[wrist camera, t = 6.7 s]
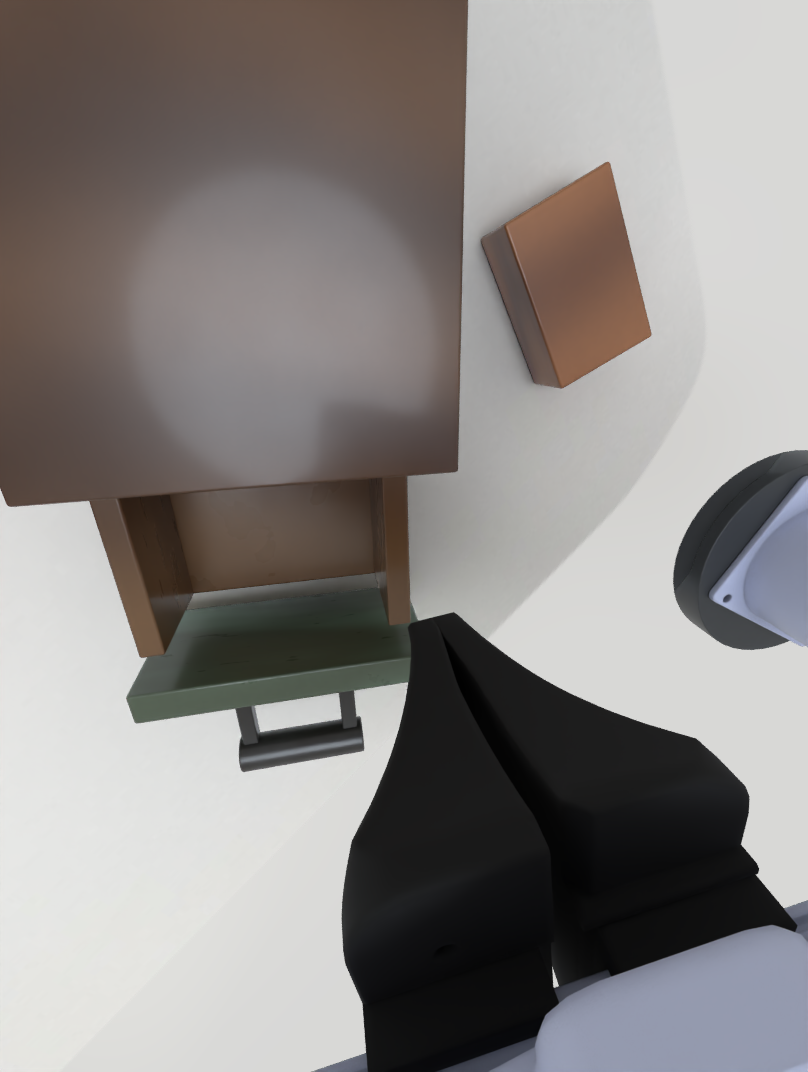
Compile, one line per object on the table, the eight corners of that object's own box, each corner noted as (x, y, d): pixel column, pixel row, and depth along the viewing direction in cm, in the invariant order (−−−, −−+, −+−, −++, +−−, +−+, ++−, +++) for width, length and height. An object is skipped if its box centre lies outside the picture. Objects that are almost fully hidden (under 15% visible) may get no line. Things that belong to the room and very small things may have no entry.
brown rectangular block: (615, 336, 19) (653, 335, 17) (534, 384, 20) (561, 389, 17) (572, 182, 17) (610, 159, 15) (479, 239, 17) (504, 224, 15)
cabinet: (410, 429, 19) (458, 472, 13) (118, 447, 18) (6, 508, 11) (400, -15, 14) (477, -320, 8) (-25, -57, 12) (-406, -509, 6)
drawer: (407, 678, 24) (431, 764, 19) (197, 710, 22) (165, 813, 17) (396, 318, 17) (430, 308, 12) (91, 324, 15) (-12, 317, 10)
